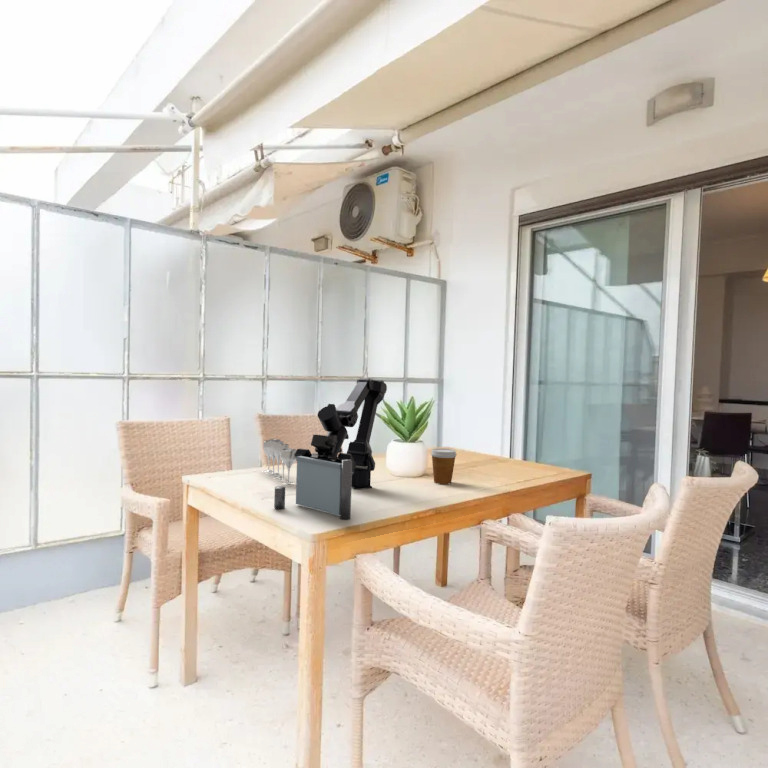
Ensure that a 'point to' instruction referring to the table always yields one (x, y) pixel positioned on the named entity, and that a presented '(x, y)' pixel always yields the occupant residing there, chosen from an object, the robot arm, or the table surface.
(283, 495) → the posts
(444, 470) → the disposable coffee cup
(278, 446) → the goblet set
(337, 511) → the panel
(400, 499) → the table surface
